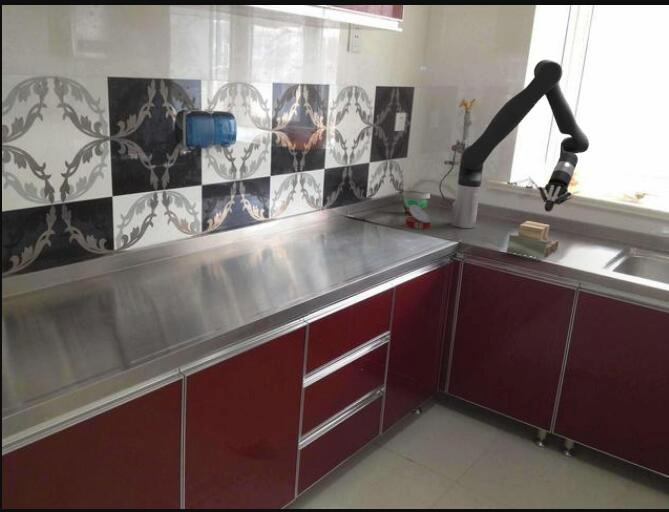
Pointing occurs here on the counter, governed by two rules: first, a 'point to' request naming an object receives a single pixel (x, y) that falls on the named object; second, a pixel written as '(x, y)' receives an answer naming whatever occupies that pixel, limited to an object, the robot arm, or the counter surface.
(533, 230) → the cardboard box
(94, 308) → the counter surface
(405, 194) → the food container
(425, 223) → the canned food
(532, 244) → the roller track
